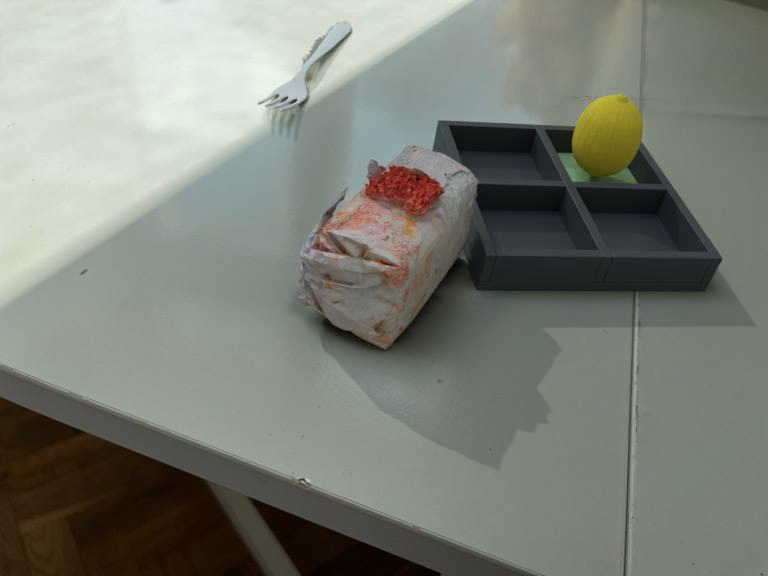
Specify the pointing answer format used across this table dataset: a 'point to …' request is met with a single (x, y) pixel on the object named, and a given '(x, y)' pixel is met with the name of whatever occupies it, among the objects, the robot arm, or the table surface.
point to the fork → (297, 85)
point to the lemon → (607, 136)
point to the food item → (388, 244)
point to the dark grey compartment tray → (572, 216)
